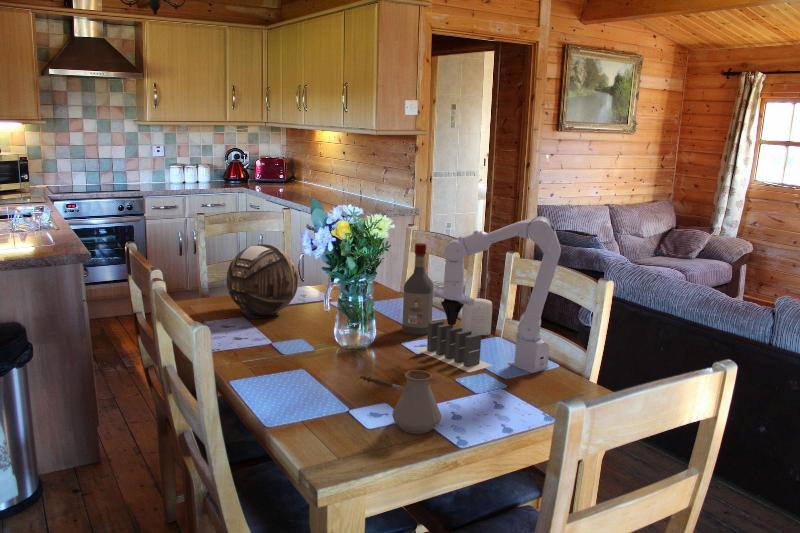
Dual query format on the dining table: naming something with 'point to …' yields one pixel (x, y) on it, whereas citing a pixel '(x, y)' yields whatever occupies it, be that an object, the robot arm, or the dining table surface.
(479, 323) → the cream rounded block
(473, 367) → the domino board
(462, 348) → the domino
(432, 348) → the domino
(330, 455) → the dining table surface
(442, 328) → the domino
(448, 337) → the domino
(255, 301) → the sphere
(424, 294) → the liquor
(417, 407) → the coffee pot
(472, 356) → the domino
